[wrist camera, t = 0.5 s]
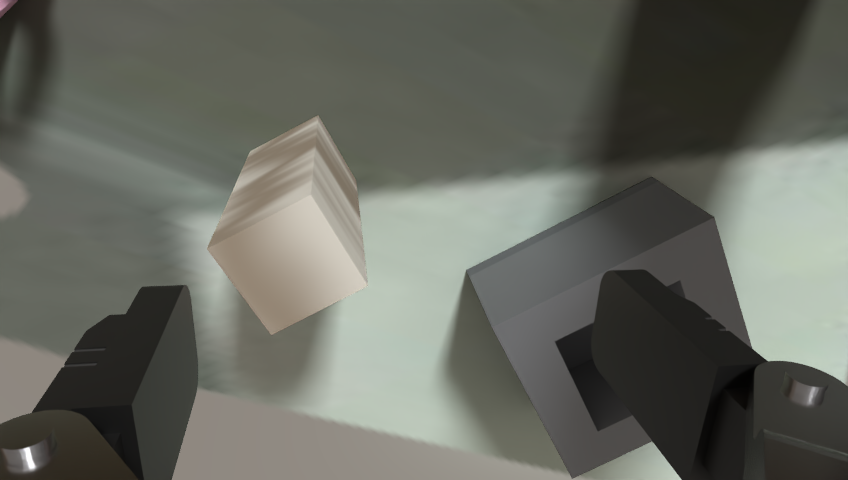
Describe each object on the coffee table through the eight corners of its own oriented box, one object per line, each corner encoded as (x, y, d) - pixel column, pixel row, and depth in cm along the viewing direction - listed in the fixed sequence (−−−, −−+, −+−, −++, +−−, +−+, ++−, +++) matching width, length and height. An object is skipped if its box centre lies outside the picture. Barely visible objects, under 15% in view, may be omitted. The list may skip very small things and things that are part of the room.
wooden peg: (318, 115, 31) (310, 194, 20) (356, 180, 33) (368, 286, 22) (250, 151, 31) (206, 248, 20) (291, 214, 33) (271, 335, 22)
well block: (651, 176, 35) (714, 217, 29) (702, 328, 40) (763, 388, 34) (466, 270, 36) (491, 327, 30) (538, 407, 41) (572, 478, 35)
